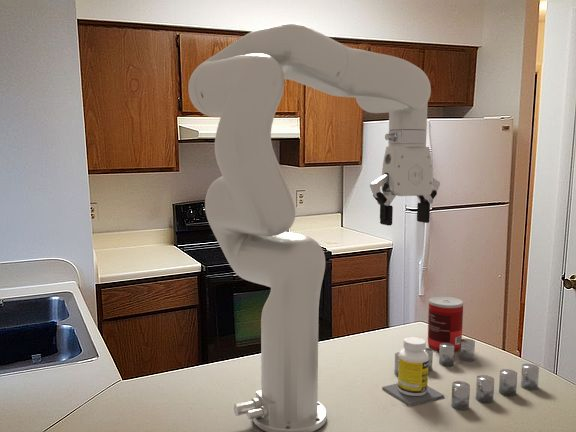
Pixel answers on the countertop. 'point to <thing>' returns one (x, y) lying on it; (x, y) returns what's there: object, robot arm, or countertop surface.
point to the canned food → (445, 322)
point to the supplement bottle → (413, 367)
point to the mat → (413, 400)
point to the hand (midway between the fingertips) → (404, 223)
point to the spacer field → (479, 376)
